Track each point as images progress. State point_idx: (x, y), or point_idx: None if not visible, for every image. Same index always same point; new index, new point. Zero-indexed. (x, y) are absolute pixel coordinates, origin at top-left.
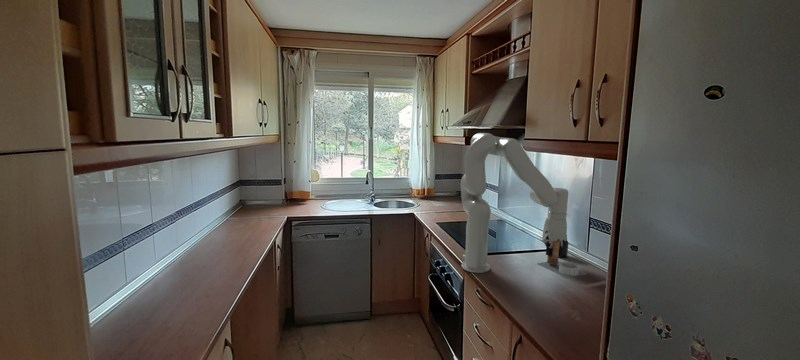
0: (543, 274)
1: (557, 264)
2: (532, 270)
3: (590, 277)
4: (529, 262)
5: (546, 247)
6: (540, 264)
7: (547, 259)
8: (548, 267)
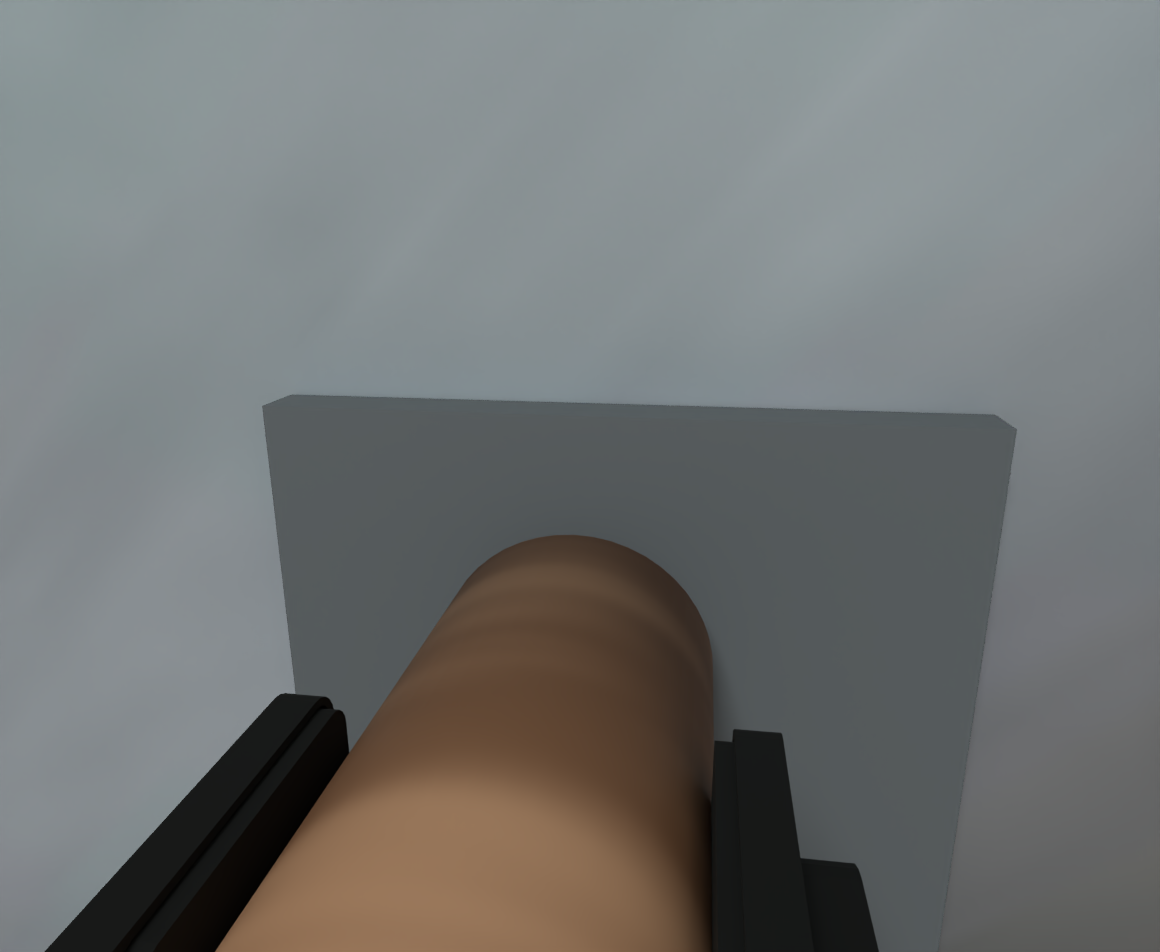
0: (147, 785)
1: (740, 666)
2: (49, 567)
3: None
4: (254, 144)
5: (94, 907)
6: (314, 496)
7: (449, 607)
8: (373, 703)
